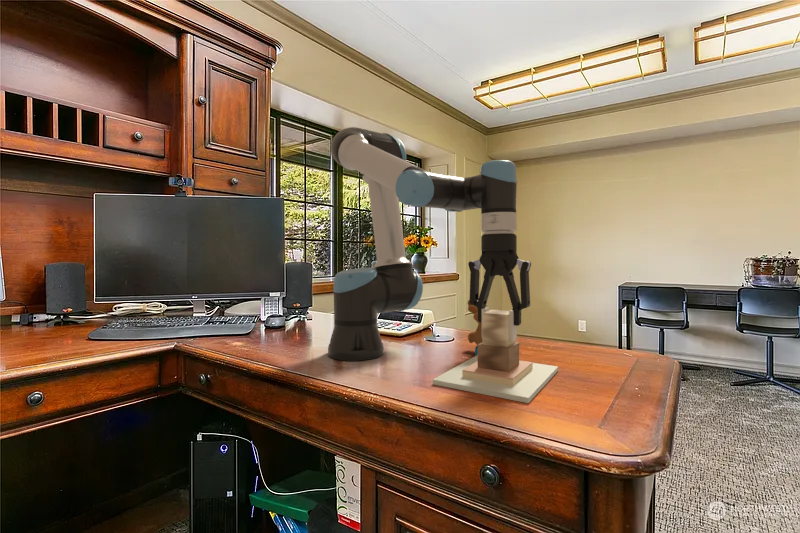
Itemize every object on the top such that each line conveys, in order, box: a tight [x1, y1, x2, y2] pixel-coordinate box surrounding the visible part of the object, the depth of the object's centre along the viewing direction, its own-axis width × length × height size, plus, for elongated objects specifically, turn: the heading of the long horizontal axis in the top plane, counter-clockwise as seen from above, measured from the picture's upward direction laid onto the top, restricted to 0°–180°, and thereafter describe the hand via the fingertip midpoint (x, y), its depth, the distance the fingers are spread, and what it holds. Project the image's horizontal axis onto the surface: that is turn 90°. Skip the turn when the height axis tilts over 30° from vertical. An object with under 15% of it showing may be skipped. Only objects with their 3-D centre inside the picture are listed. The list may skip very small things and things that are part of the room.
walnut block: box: [478, 341, 520, 372], centre depth 89 cm, size 7×7×5 cm
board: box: [432, 355, 559, 404], centre depth 89 cm, size 20×24×2 cm
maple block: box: [482, 309, 516, 348], centre depth 89 cm, size 6×6×7 cm
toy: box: [467, 300, 482, 356], centre depth 110 cm, size 12×7×15 cm, turn 171°
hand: (499, 338), depth 89 cm, fingers open, 6 cm apart
